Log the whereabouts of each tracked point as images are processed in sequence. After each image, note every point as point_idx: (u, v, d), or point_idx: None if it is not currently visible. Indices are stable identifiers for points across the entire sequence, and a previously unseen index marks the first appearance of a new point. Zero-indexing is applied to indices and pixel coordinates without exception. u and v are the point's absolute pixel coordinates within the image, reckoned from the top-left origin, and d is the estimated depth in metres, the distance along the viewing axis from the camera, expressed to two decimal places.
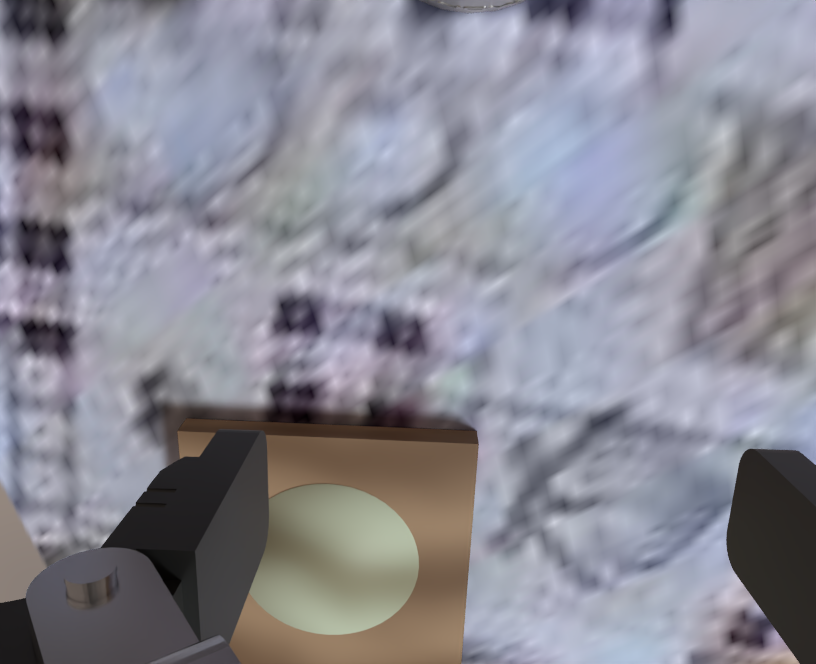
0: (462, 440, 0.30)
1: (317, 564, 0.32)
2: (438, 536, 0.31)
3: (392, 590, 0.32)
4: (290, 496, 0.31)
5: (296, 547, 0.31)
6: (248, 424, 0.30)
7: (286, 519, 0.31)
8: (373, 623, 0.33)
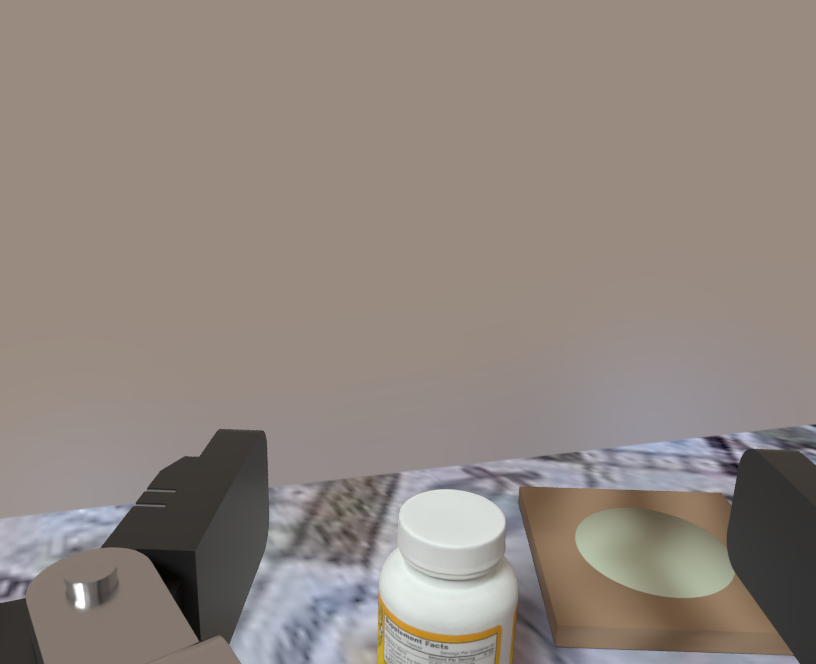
0: None
1: (647, 542, 0.39)
2: (720, 610, 0.33)
3: (644, 581, 0.35)
4: (702, 533, 0.40)
5: (657, 533, 0.40)
6: None
7: (681, 530, 0.40)
8: (600, 570, 0.36)
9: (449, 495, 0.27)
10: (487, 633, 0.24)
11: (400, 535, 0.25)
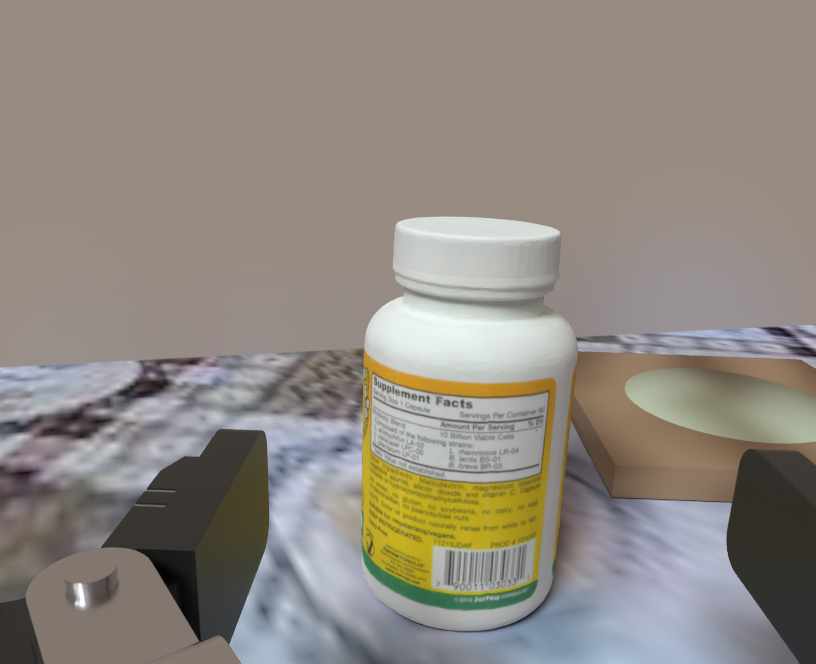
0: None
1: (720, 395, 0.30)
2: None
3: (724, 427, 0.26)
4: (788, 390, 0.31)
5: (731, 388, 0.31)
6: None
7: (760, 386, 0.31)
8: (664, 417, 0.27)
9: (471, 219, 0.18)
10: (534, 386, 0.15)
11: (397, 248, 0.16)
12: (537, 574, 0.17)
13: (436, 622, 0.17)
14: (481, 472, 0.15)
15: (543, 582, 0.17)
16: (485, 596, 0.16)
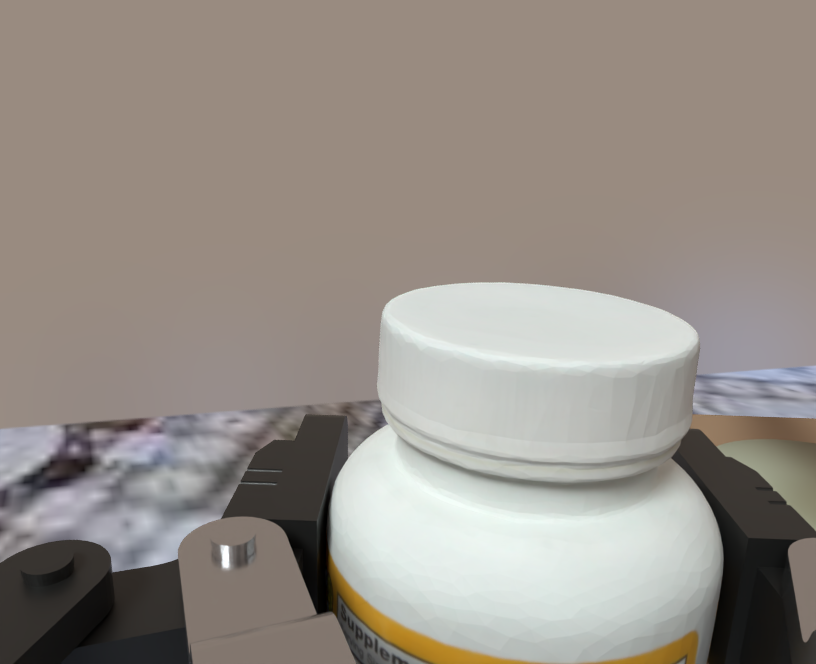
0: None
1: None
2: None
3: None
4: None
5: None
6: None
7: None
8: None
9: (516, 289, 0.10)
10: (662, 656, 0.07)
11: (385, 361, 0.08)
12: None
13: None
14: None
15: None
16: None
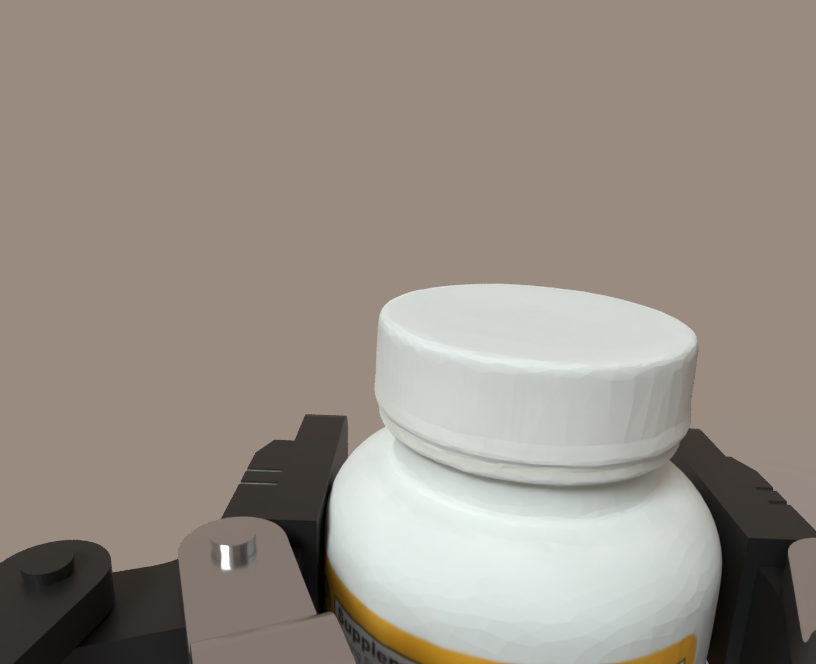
0: None
1: None
2: None
3: None
4: None
5: None
6: None
7: None
8: None
9: (514, 290, 0.10)
10: (661, 660, 0.07)
11: (382, 363, 0.08)
12: None
13: None
14: None
15: None
16: None
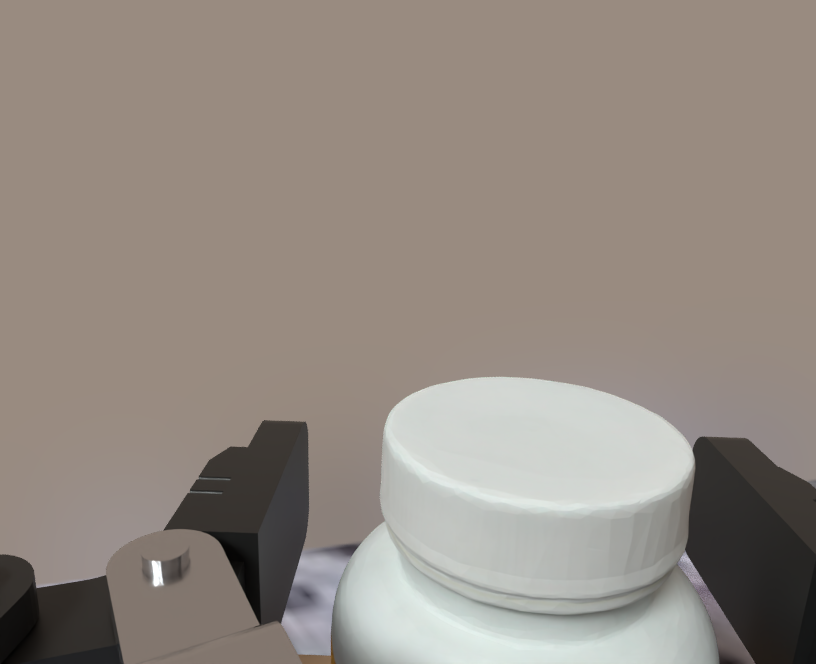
0: None
1: None
2: None
3: None
4: None
5: None
6: None
7: None
8: None
9: (515, 387, 0.10)
10: None
11: (388, 481, 0.09)
12: None
13: None
14: None
15: None
16: None
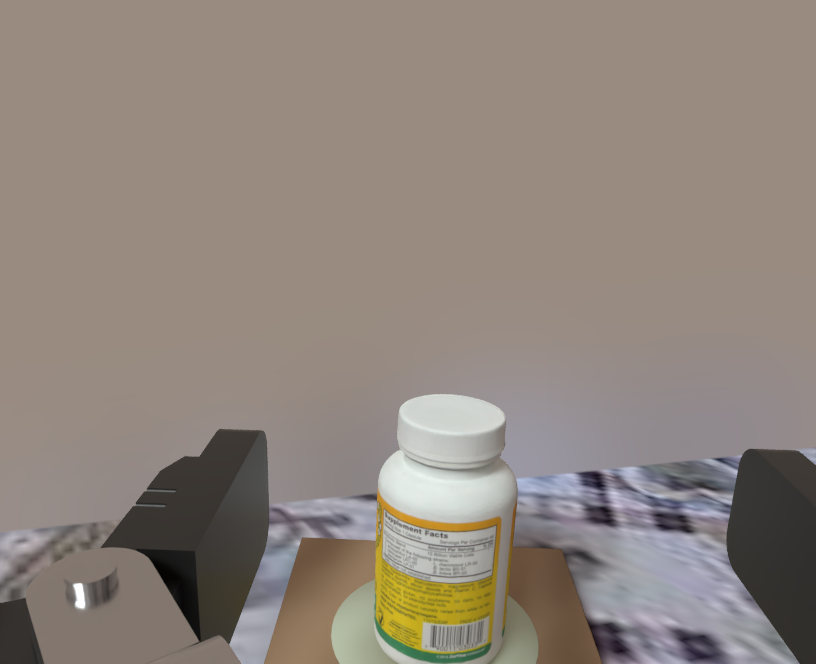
0: None
1: None
2: None
3: None
4: (513, 608, 0.30)
5: None
6: None
7: None
8: None
9: (449, 398, 0.27)
10: (487, 523, 0.24)
11: (400, 429, 0.25)
12: (491, 639, 0.26)
13: None
14: (454, 576, 0.24)
15: (495, 643, 0.26)
16: (456, 654, 0.25)
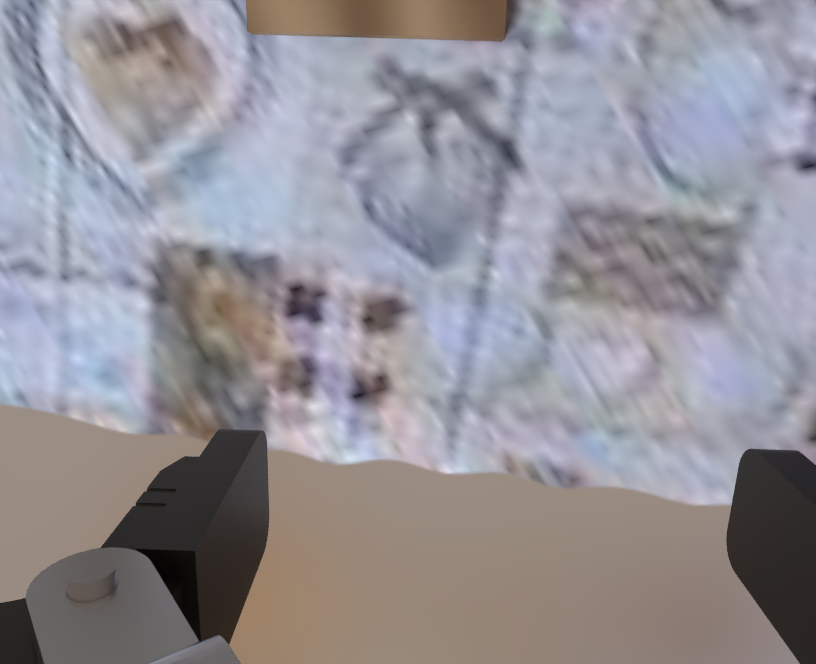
0: (504, 24, 0.35)
1: None
2: (409, 3, 0.34)
3: None
4: None
5: None
6: None
7: None
8: None
9: None
10: None
11: None
12: None
13: None
14: None
15: None
16: None
